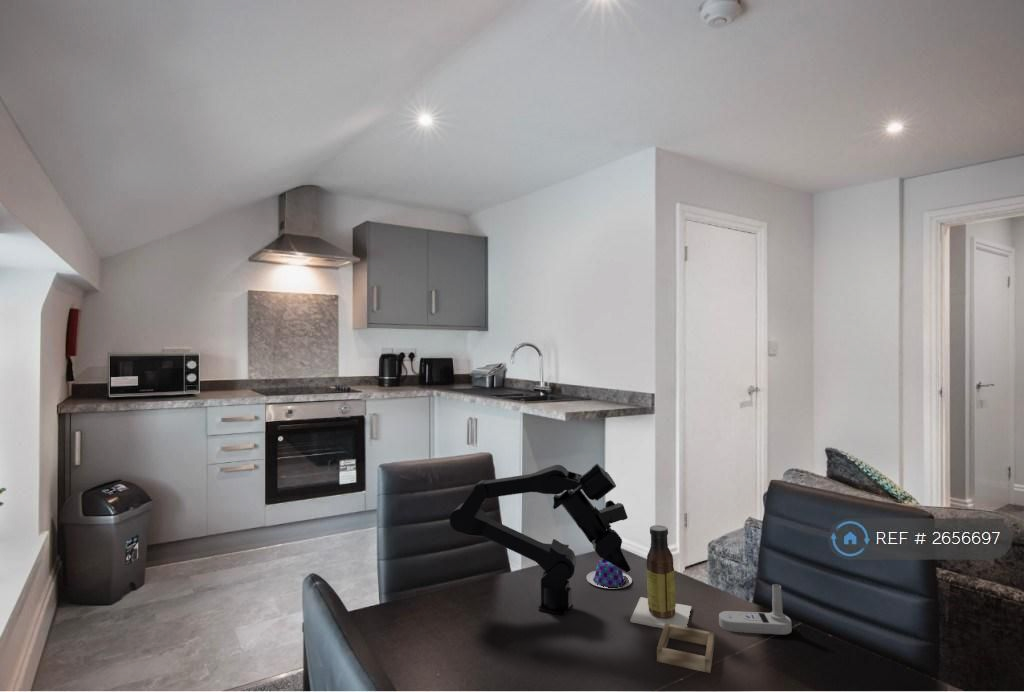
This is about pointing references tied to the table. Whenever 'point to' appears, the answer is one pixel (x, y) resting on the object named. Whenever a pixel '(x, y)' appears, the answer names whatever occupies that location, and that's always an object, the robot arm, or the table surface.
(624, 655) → the table surface
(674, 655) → the bottle holder
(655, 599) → the sauce bottle
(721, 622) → the electronic device
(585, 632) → the table surface
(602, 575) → the pudding
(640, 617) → the coaster
